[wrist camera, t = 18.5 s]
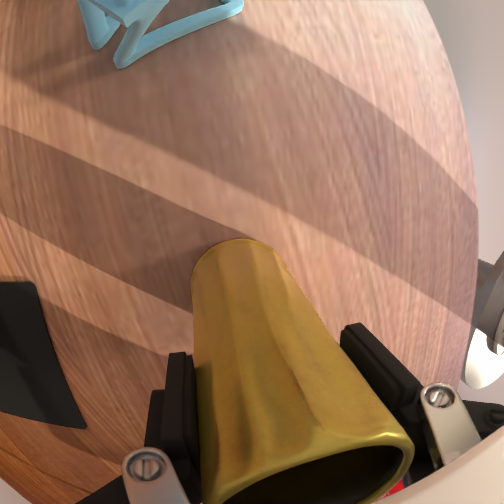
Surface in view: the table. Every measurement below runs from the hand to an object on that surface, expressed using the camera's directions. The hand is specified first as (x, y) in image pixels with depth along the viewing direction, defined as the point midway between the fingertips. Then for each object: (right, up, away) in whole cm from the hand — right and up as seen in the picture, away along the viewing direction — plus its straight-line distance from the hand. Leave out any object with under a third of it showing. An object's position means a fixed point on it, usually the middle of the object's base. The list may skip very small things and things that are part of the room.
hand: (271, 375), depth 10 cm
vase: (-1, +2, +9) cm, 9 cm away
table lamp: (-26, -10, +8) cm, 29 cm away
